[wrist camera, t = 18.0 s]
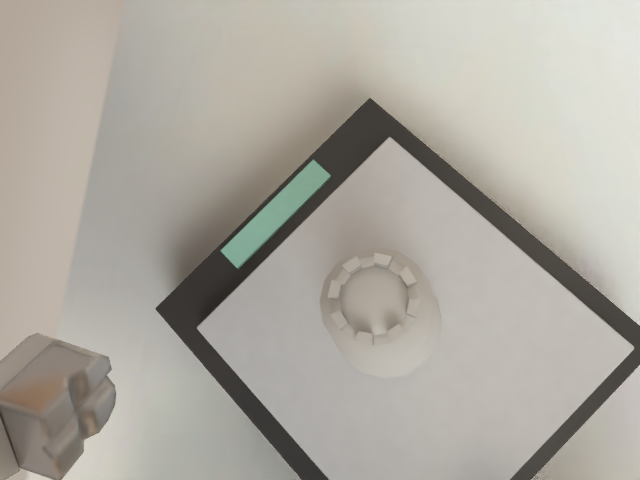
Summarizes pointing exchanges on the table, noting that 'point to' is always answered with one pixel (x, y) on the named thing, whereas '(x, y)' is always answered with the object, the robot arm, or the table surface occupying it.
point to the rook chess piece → (381, 312)
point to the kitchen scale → (455, 309)
